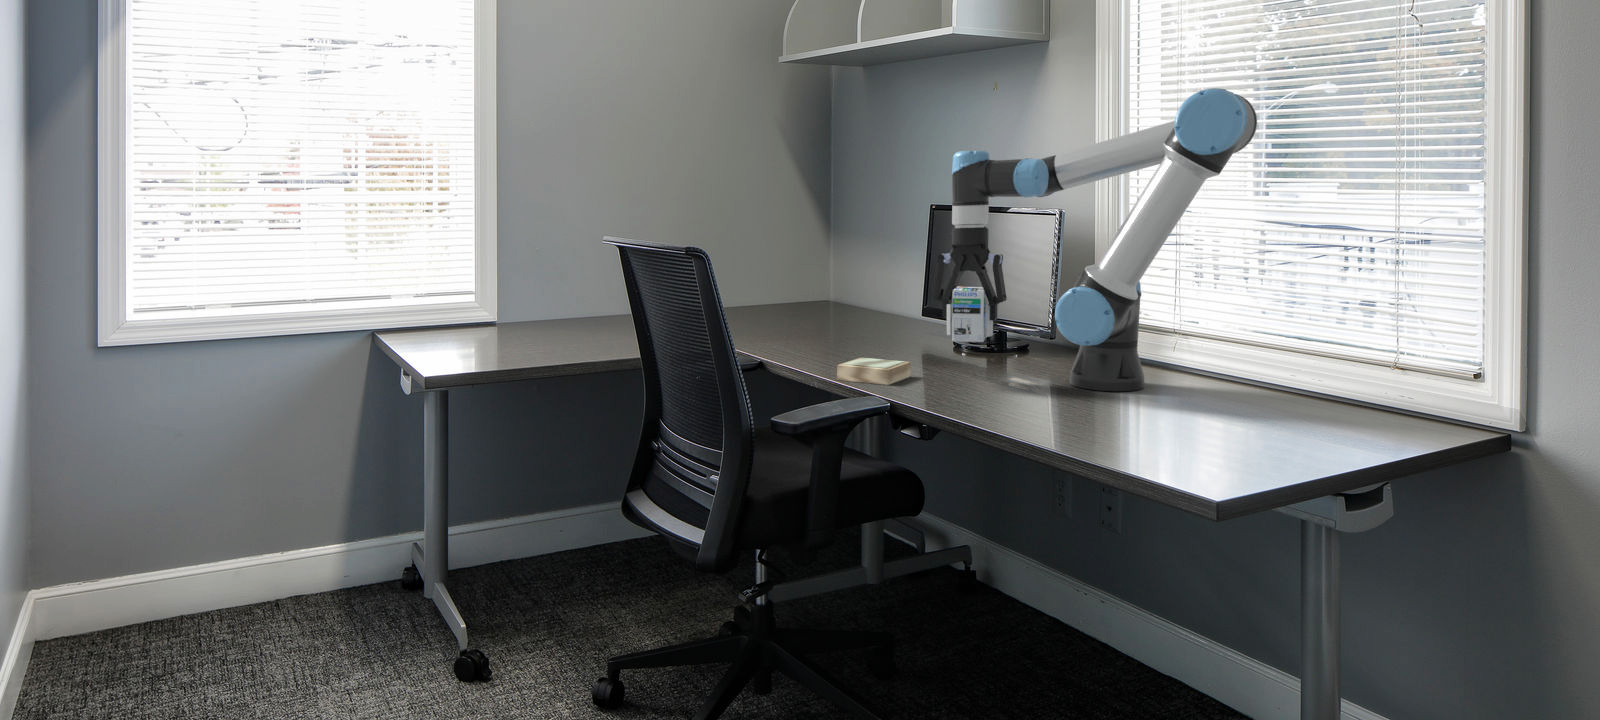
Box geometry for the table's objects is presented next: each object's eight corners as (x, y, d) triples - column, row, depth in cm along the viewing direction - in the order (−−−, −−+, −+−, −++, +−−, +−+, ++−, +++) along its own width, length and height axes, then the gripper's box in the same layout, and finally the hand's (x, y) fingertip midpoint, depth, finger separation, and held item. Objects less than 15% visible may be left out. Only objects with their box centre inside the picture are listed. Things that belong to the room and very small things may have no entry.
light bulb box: (984, 342, 230) (985, 290, 229) (951, 342, 232) (951, 290, 230) (986, 336, 241) (987, 286, 239) (955, 335, 242) (955, 285, 240)
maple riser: (910, 376, 245) (910, 361, 244) (888, 384, 234) (888, 368, 234) (860, 371, 251) (861, 356, 250) (837, 379, 240) (837, 364, 240)
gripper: (1024, 225, 231) (1022, 335, 234) (930, 225, 241) (930, 331, 244) (1012, 226, 225) (1011, 339, 228) (917, 227, 234) (917, 335, 238)
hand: (969, 334), depth 236 cm, fingers closed on light bulb box, 8 cm apart
